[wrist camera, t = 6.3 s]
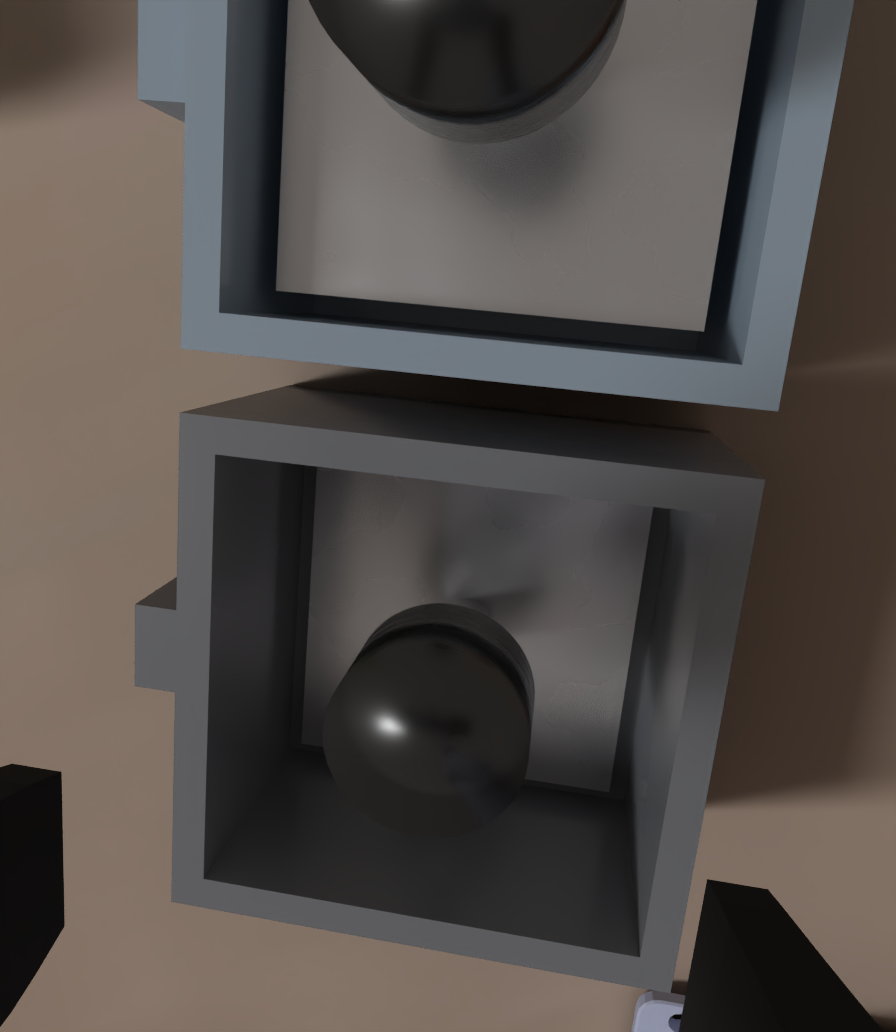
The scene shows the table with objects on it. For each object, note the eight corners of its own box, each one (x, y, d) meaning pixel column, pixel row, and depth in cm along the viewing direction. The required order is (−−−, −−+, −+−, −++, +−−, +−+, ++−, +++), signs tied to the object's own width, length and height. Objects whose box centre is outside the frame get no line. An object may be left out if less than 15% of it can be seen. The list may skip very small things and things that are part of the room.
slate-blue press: (800, -121, 15) (919, -348, 10) (716, 382, 18) (778, 411, 12) (255, -140, 17) (106, -354, 11) (239, 333, 19) (108, 341, 13)
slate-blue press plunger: (780, -170, 12) (960, -590, 7) (700, 331, 14) (787, 342, 8) (304, -184, 13) (97, -570, 7) (283, 291, 15) (100, 276, 9)
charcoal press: (708, 430, 18) (765, 479, 13) (644, 813, 20) (670, 993, 15) (237, 379, 19) (108, 404, 14) (226, 746, 21) (109, 890, 16)
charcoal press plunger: (655, 477, 18) (693, 555, 12) (608, 782, 19) (622, 979, 14) (323, 439, 18) (211, 495, 13) (306, 735, 20) (200, 901, 14)
